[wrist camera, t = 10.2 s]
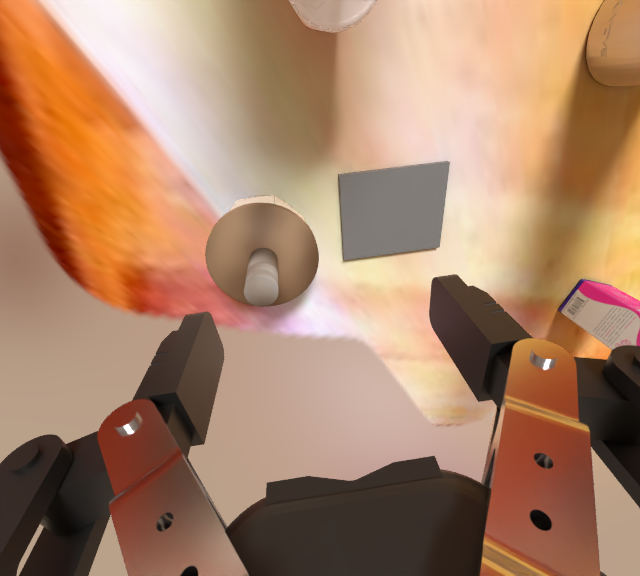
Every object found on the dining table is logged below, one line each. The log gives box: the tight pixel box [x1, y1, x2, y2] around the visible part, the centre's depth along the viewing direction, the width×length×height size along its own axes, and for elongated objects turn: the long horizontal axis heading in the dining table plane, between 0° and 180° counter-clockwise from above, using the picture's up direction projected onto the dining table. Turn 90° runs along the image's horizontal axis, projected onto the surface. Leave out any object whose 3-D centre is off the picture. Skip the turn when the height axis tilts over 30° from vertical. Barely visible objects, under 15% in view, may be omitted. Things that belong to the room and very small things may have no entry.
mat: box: [338, 161, 450, 260], centre depth 36 cm, size 12×10×1 cm
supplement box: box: [558, 279, 640, 350], centre depth 42 cm, size 6×6×12 cm
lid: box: [205, 202, 319, 307], centre depth 29 cm, size 11×11×7 cm
